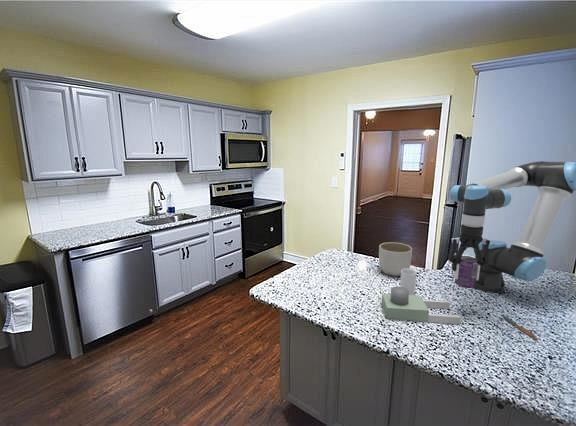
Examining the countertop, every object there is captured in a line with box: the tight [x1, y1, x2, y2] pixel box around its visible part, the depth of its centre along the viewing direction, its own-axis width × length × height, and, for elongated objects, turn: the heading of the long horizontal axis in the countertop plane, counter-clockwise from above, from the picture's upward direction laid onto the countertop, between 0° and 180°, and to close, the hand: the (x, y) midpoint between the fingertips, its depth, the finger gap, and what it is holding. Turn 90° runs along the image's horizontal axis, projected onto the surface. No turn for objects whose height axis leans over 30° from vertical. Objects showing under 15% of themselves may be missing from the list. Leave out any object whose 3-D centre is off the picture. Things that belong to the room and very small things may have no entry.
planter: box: [378, 241, 413, 277], centre depth 159 cm, size 17×17×15 cm
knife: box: [501, 314, 538, 342], centre depth 110 cm, size 17×1×3 cm
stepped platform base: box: [381, 285, 462, 325], centre depth 120 cm, size 28×12×10 cm, turn 81°
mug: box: [399, 268, 418, 295], centre depth 136 cm, size 10×7×12 cm, turn 172°
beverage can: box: [454, 255, 478, 289], centre depth 118 cm, size 7×7×12 cm
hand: (465, 278), depth 118 cm, fingers closed on beverage can, 7 cm apart
